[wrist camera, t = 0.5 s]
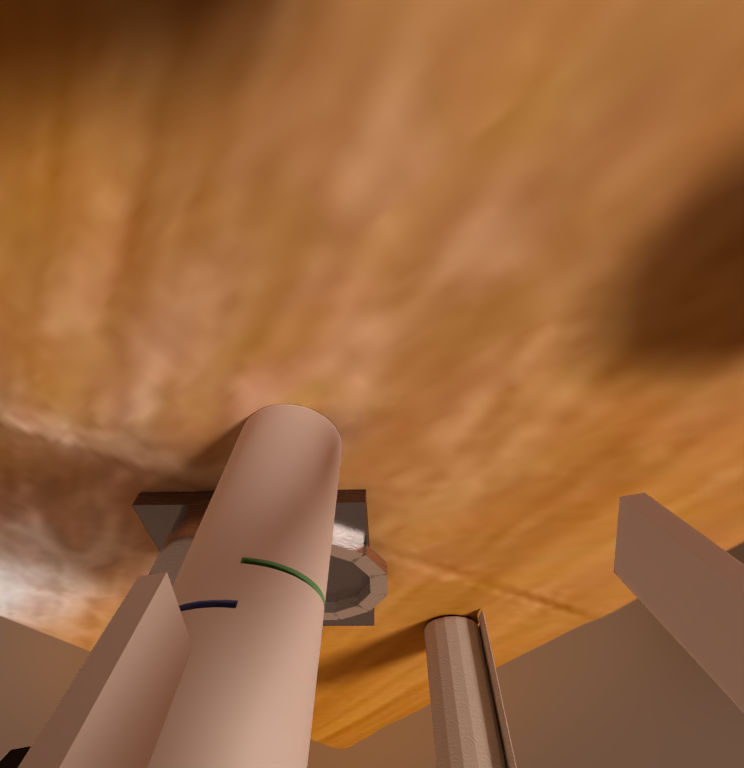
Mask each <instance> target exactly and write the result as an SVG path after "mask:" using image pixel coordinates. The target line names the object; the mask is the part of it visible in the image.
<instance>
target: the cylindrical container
mask: <svg viewBox="0 0 744 768" xmlns="http://www.w3.org/2000/svg"><path fill="white" fill-rule="evenodd" d="M341 455H342V440H341V437H340V434H339V432H338V430H337V429H336V427H335V426H334V425H333V424H332V423H331V421H330V420H328V419H327V418H326V417H324V416H323V415H322V414H320V413H318V412H316V411H314V410H312V409H309V408H306V407H303V406H298V405H292V404H279V405H272V406H268V407H265V408H262V409H260V410H259V411H257V412H255V413H254V414H252V415H251V416H250V417H249V418H248V419H247V421H246V422H245V424H244V426H243V428H242V430H241V432H240V435H239V437H238V439H237V441H236V444H235V446H234V448H233V451H232V453H231V455H230V457H229V460H228V462H227V464H226V466H225V469H224V471H223V473H222V476H221V478H220V480H219V482H218V485H217V487H216V489H215V491H214V494H213V496H212V498H211V501H210V503H209V505H208V507H207V510H206V512H205V514H204V516H203V519H202V521H201V523H200V526H199V528H198V530H197V532H196V535H195V537H194V539H193V541H192V544H191V546H190V548H189V551H188V553H187V555H186V557H185V560H184V562H183V564H182V566H181V569H180V571H179V573H178V576H177V578H176V580H175V582H174V585H173V587H172V588H173V591H174V594H175V597H176V599H177V602H178V605H179V608H180V611H181V614H182V617H183V620H184V622H185V625H186V628H187V631H188V634H189V637H190V640H191V643H192V645H193V647H192V650H191V652H190V655H189V658H188V660H187V663H186V666H185V668H184V671H183V674H182V676H181V679H180V682H179V684H178V687H177V690H176V693H175V695H174V698H173V701H172V703H171V706H170V709H169V711H168V714H167V717H166V719H165V722H164V725H163V727H162V730H161V733H160V735H159V738H158V741H157V743H156V746H155V749H154V751H153V754H152V757H151V759H150V762H149V765H148V767H147V768H307V763H308V753H309V745H310V736H311V727H312V717H313V708H314V699H315V690H316V681H317V672H318V663H319V654H320V645H321V636H322V627H323V617H324V606H325V599H326V590H327V581H328V572H329V563H330V554H331V545H332V536H333V527H334V518H335V509H336V500H337V491H338V482H339V473H340V464H341Z"/></svg>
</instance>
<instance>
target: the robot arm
mask: <svg viewBox="0 0 744 768" xmlns="http://www.w3.org/2000/svg"><path fill="white" fill-rule="evenodd" d="M614 573H615V574H616V575H617V576H618V577H619V578H620V579H621V580H622V581H623V583H624V584H625V585H626V586H627V587H628V588H629V589H630V590H631V591H632V592H633V593H634V594H635V596H636V597H637V598H638V599H639V600H640V601H641V602H642V603H643V604H644V605H645V606H646V607H647V609H648V610H649V611H650V612H651V613H652V614H653V615H654V616H655V617H656V618H657V619H658V620H659V622H660V623H661V624H662V625H663V626H664V627H665V628H666V629H667V630H668V631H669V632H670V634H671V635H672V636H673V637H674V638H675V639H676V640H677V641H678V642H679V643H680V644H681V645H682V647H683V648H684V649H685V650H686V651H687V652H688V653H689V654H690V655H691V656H692V657H693V658H694V659H695V660H696V662H697V663H698V664H699V665H700V666H701V667H702V668H703V669H704V670H705V672H706V673H708V675H709V676H710V677H711V678H712V679H713V680H714V681H715V682H716V683H717V685H718V686H719V687H720V688H721V689H722V690H723V691H724V692H725V693H726V694H727V695H728V696H729V697H730V699H731V700H732V701H733V702H734V703H735V704H736V705H737V706H738V707H739V708H740V709H741V711H742V712H743V713H744V564H743V563H741V562H740V561H738V560H737V559H736V558H734V557H733V556H731V555H730V554H728V553H727V552H726V551H725V550H723V549H722V548H720V547H719V546H718V545H716V544H715V543H713V542H712V541H711V540H709V539H708V538H707V537H705V536H704V535H702V534H701V533H700V532H698V531H697V530H695V529H694V528H693V527H691V526H690V525H689V524H687V523H686V522H684V521H683V520H682V519H680V518H679V517H678V516H676V515H675V514H673V513H672V512H671V511H669V510H668V509H666V508H665V507H664V506H662V505H661V504H660V503H658V502H657V501H655V500H654V499H653V498H651V497H650V496H648V495H647V494H646V493H640V494H634V495H628V496H622V497H620V503H619V515H618V526H617V538H616V550H615V562H614ZM192 647H193V645H192V643H191V640H190V637H189V634H188V631H187V628H186V625H185V622H184V620H183V617H182V614H181V611H180V608H179V605H178V602H177V599H176V597H175V594H174V591H173V588H172V585H171V582H170V579H169V576H168V573H167V572H164V573H158V574H152V575H146V576H140V577H138V578H137V580H136V582H135V583H134V585H133V586H132V588H131V590H130V591H129V593H128V594H127V596H126V597H125V599H124V601H123V602H122V604H121V605H120V607H119V608H118V610H117V612H116V613H115V615H114V616H113V618H112V620H111V621H110V623H109V624H108V626H107V627H106V629H105V631H104V632H103V634H102V635H101V637H100V638H99V640H98V642H97V643H96V645H95V646H94V648H93V650H92V651H91V653H90V654H89V656H88V657H87V659H86V661H85V662H84V664H83V665H82V667H81V669H80V670H79V672H78V673H77V675H76V676H75V678H74V680H73V681H72V683H71V684H70V686H69V687H68V689H67V691H66V692H65V694H64V695H63V697H62V699H61V700H60V702H59V703H58V705H57V706H56V708H55V710H54V711H53V713H52V714H51V716H50V717H49V719H48V721H47V722H46V724H45V725H44V727H43V729H42V730H41V732H40V733H39V735H38V736H37V738H36V740H35V741H34V743H33V744H32V746H30V747H24V748H19V749H14V750H11V751H10V752H9V753H8V754H7V755H6V756H5V757H4V758H3V759H2V760H1V761H0V768H147V767H148V765H149V762H150V759H151V757H152V754H153V751H154V749H155V746H156V743H157V741H158V738H159V735H160V733H161V730H162V727H163V725H164V722H165V719H166V717H167V714H168V711H169V709H170V706H171V703H172V701H173V698H174V695H175V693H176V690H177V687H178V684H179V682H180V679H181V676H182V674H183V671H184V668H185V666H186V663H187V660H188V658H189V655H190V652H191V650H192Z"/></svg>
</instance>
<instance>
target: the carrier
mask: <svg viewBox="0 0 744 768" xmlns="http://www.w3.org/2000/svg"><path fill="white" fill-rule="evenodd" d="M213 494H214V492H169V493H140V494H139V495H138V497H137V498H136V500H135V501H134V503H133V505H132V506H133V508H134V510H135V511H136V513H137V514H138V516H139V518H140V519H141V521H142V523H143V524H144V526H145V528H146V529H147V531H148V532H149V534H150V536H151V537H152V539H153V541H154V542H155V544H156V546H157V547H158V549H159V551H160V553H159V555H158V557H157V559H156V561H155V563H154V565H153V567H152V569H151V571H150V573H149V574H148V575H152V574H158V573H164V572H167V573H168V576H169V579H170V582H171V585H172V587H173V585H174V582H175V580H176V578H177V576H178V573H179V571H180V569H181V566H182V564H183V562H184V560H185V557H186V555H187V553H188V551H189V548H190V546H191V544H192V541H193V539H194V537H195V535H196V532H197V530H198V528H199V526H200V523H201V521H202V519H203V516H204V514H205V512H206V510H207V507H208V505H209V503H210V501H211V498H212V496H213ZM386 596H387V564H386V562H385V561H384V560H383V559H382V558H381V557H380V556H378V555H377V554H376V553H375V552H374V551H373V550H372V549H371V548H370V545H369V531H368V517H367V503H366V490H338V491H337V500H336V509H335V518H334V527H333V536H332V545H331V554H330V563H329V572H328V581H327V590H326V599H325V606H324V617H323V626H374V607H375V606H376V605H377V604H378V603H379V602H380V601H382V600H383V599H384V598H385V597H386Z"/></svg>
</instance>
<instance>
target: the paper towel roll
mask: <svg viewBox="0 0 744 768" xmlns="http://www.w3.org/2000/svg"><path fill="white" fill-rule="evenodd" d="M479 621H480V625H479V627H478V625H477V624H476V623H475V622H474V621H473V620H471V619H468V618H466V617H459V616H448V617H442V618H438V619H434V620H433V621H431V622H429V623H428V624H427V625H426V627H425V629H424V633H425V644H426V656H427V667H428V678H429V689H430V700H431V712H432V723H433V734H434V745H435V756H436V768H517V767H516V762H515V758H514V753H513V748H512V743H511V739H510V734H509V730H508V724H507V720H506V716H505V711H504V706H503V701H502V696H501V692H500V687H499V683H498V678H497V673H496V668H495V663H494V659H493V654H492V649H491V645H490V640H489V635H488V630H487V626H486V621H485V616H484V612H483V610H482V612H481V613H480V615H479Z"/></svg>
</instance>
